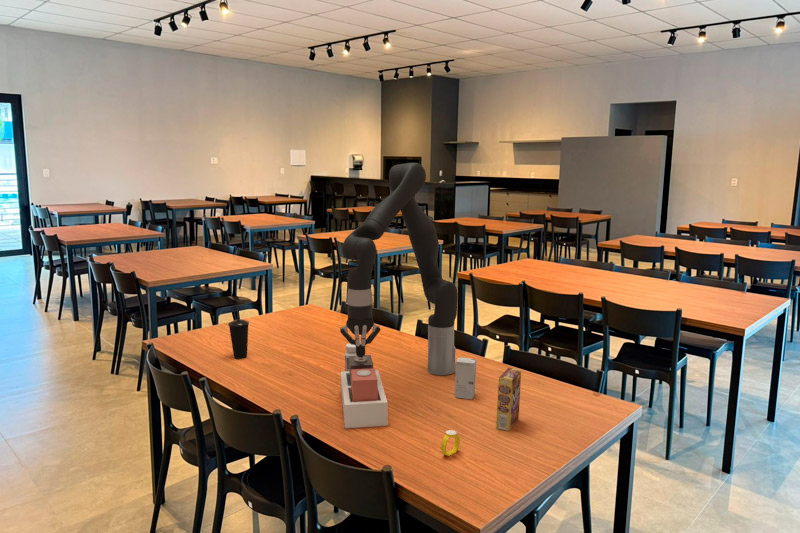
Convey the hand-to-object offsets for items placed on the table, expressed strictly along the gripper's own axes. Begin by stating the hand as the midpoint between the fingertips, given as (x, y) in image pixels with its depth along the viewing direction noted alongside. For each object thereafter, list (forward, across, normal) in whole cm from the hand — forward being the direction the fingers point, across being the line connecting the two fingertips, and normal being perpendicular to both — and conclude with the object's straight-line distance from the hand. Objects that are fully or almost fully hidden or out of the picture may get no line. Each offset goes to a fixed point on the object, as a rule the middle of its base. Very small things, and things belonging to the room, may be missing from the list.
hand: (360, 356), depth 175 cm
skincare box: (+14, -33, +2) cm, 36 cm away
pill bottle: (+14, +1, -21) cm, 25 cm away
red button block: (+8, 0, +12) cm, 15 cm away
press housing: (+14, 0, +6) cm, 15 cm away
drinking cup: (+14, +43, -47) cm, 65 cm away
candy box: (+14, -40, +23) cm, 48 cm away
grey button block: (+8, 0, 0) cm, 8 cm away
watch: (+14, -20, +37) cm, 45 cm away
